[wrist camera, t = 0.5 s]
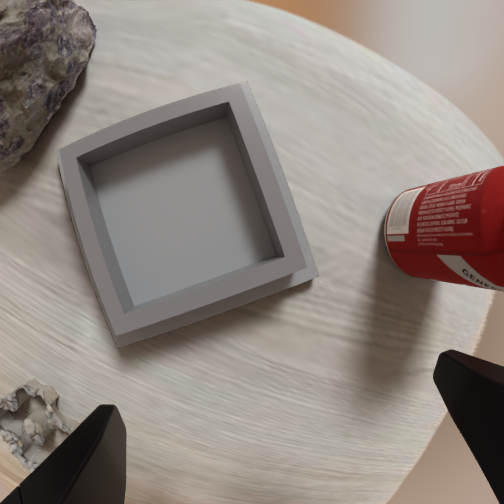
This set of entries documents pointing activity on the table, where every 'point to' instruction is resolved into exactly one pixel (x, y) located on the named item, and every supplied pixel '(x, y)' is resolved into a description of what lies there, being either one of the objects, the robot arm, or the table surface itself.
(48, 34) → the mineral rock
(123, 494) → the robot arm
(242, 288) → the square gray tray
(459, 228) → the soda can
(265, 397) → the table surface
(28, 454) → the egg carton
